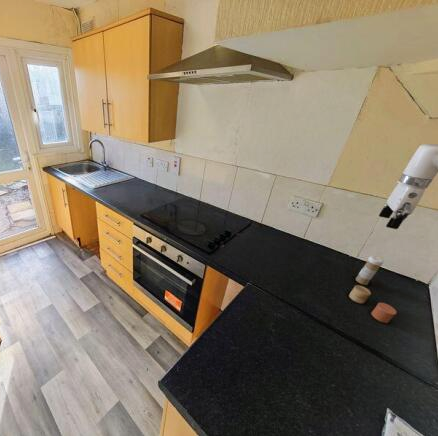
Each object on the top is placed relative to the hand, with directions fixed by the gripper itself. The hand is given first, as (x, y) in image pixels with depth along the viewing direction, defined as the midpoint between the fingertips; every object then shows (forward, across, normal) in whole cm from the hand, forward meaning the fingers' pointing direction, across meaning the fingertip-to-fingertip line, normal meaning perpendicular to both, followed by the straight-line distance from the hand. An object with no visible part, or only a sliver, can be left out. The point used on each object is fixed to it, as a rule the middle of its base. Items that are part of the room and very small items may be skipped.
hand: (387, 222), depth 88 cm
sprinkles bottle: (+31, +1, -4) cm, 31 cm away
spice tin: (+31, -12, 0) cm, 33 cm away
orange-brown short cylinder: (+31, -19, -6) cm, 37 cm away
